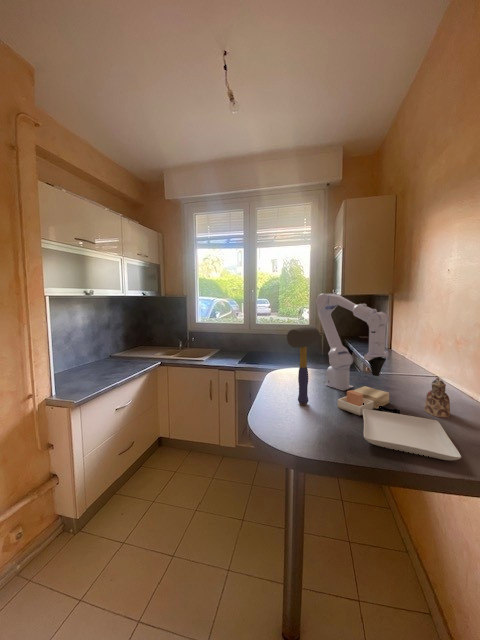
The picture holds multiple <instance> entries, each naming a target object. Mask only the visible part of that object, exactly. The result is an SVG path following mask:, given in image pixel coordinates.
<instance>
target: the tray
mask: <svg viewBox="0 0 480 640" xmlns="http://www.w3.org/2000/svg"><path fill="white" fill-rule="evenodd" d="M363 403H364V405H362V406H360V407H359V406H356V405H353V404H351V403H348V402H347V395H346V396H343V397H340V398H338V399H337V404H336V405H337V408H338V409H340V410H344V411H346V412H349V413H351V414H354V415H357V416H360V417H361V416H363V409H369V410H374V408H373V407H374V401H371V400H368V399H365V398H363Z"/></svg>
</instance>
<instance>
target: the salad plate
mask: <svg viewBox="0 0 480 640" xmlns="http://www.w3.org/2000/svg"><path fill="white" fill-rule="evenodd" d="M362 417H363V418H362V419H363V438H364V440H366V441H367V442H368V443H369V444H372V445H375V446H378V447H382V448H384V447H385V449H388V450H389V449H390V450H393V449H394V450H395V451H398V450H399V451H398V452H403V451H404V453H408V452H409V453H408V454H413V453H414V455H418V454H419V455H418V456H423V455H424V456H423V457H428V456H429V457H428V458H433V459H439V460H442V461H443V460H444V461H457V460H460V459H462V455H461V454H460V452H459V450H458V448H457V446H455V444H454V442H452V440H451V439H450V437H449V435H448V434H447V433H446V430H445V429H444V428H443V426H442V424H441V423H440V422H439V421H438V420H436V419H433V418H432V419H431V418H424V417H419V416H413V415H407V414H400V413H395V412H389V411H383V410H382V411H380V410H374V409H373V410H369V409H363V415H362Z"/></svg>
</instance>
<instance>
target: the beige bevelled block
mask: <svg viewBox="0 0 480 640" xmlns="http://www.w3.org/2000/svg"><path fill="white" fill-rule="evenodd" d="M351 390H352V391H355V392H358V393H362V394H363V398H365V399H368V400H371V401H374V407H373V409H380V408H379V406H382V407H384V406H386V405H388V404H389V403H390V392H388V391H384V390H380V389H377V388H373V387H369V386H365V385H364V386H363V385H362V386H360V387H358V388H355V389H351Z"/></svg>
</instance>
